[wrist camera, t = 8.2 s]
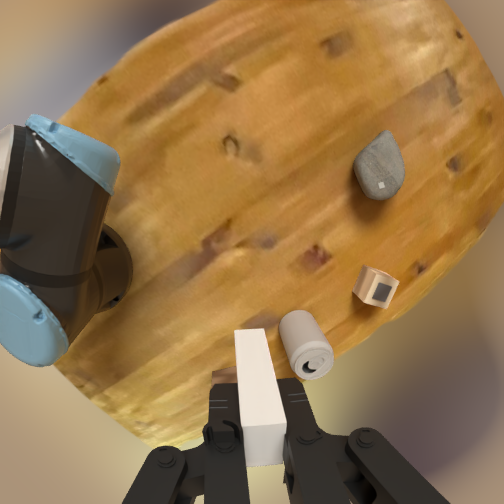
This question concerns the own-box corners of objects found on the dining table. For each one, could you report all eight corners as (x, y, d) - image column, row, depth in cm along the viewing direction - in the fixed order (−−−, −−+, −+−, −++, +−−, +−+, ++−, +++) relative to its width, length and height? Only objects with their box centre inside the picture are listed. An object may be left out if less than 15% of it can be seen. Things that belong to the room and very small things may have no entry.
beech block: (351, 290, 48) (364, 303, 43) (363, 264, 47) (377, 274, 42) (373, 297, 49) (387, 309, 44) (385, 272, 48) (399, 282, 43)
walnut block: (221, 389, 52) (221, 408, 47) (212, 371, 50) (211, 389, 45) (246, 383, 52) (248, 402, 47) (238, 365, 50) (239, 382, 45)
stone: (410, 172, 44) (422, 188, 35) (367, 192, 48) (370, 212, 40) (386, 125, 41) (395, 130, 33) (342, 147, 46) (340, 158, 38)
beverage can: (270, 323, 49) (282, 365, 37) (301, 300, 48) (322, 337, 36) (291, 346, 50) (307, 389, 39) (320, 325, 50) (344, 364, 38)
